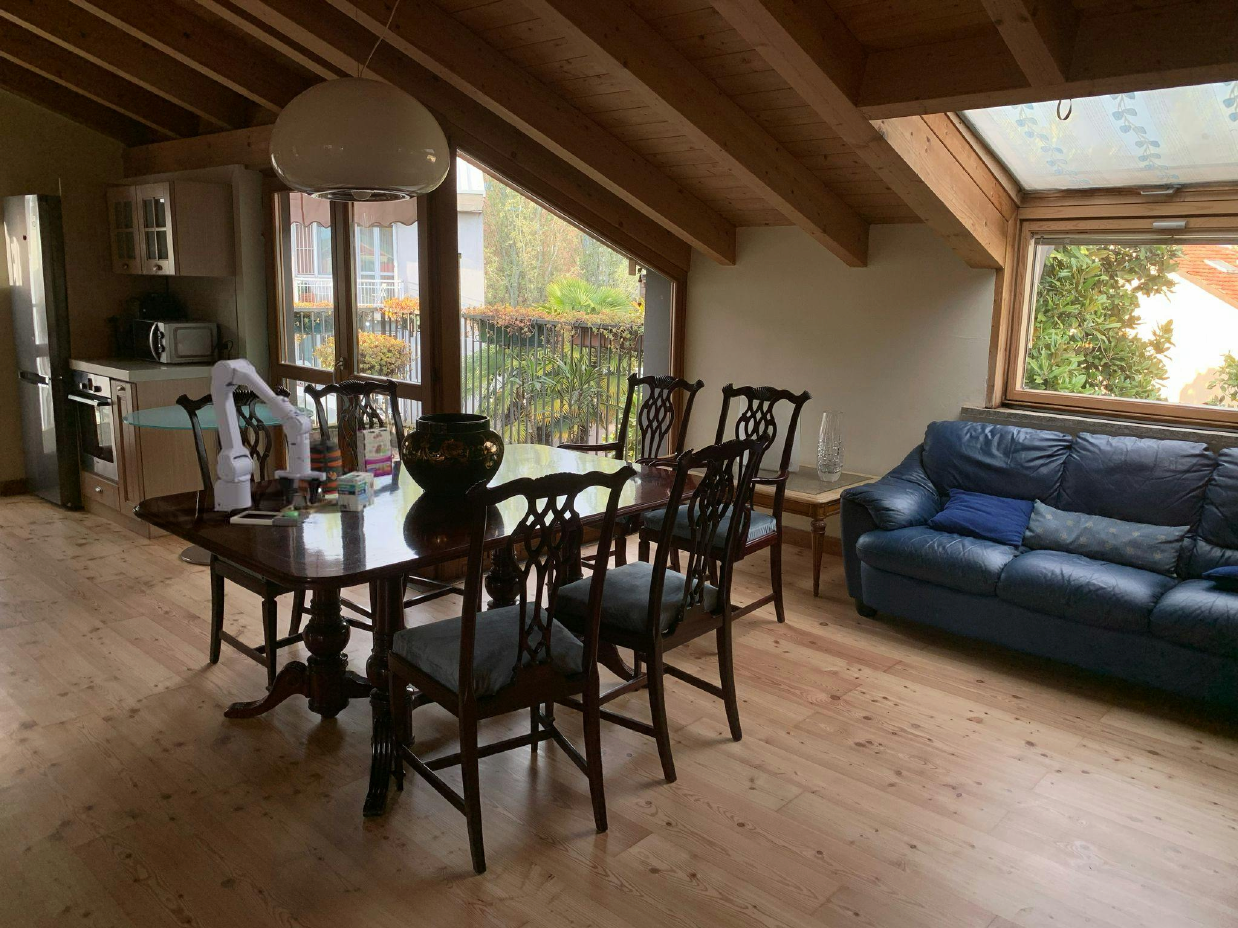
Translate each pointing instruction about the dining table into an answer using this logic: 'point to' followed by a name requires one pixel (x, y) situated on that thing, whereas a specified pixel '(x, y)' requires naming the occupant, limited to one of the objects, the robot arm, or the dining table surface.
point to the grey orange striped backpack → (324, 465)
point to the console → (290, 519)
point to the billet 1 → (300, 501)
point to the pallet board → (312, 506)
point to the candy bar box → (375, 451)
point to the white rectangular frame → (253, 521)
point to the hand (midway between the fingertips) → (301, 503)
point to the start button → (291, 514)
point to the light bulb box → (355, 491)
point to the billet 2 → (319, 496)
